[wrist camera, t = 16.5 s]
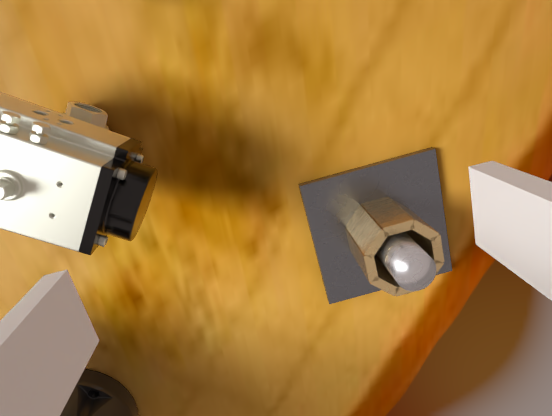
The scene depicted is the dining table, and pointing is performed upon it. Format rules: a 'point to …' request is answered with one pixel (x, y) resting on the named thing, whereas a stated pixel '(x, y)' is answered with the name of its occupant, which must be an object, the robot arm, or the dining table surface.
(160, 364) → the dining table surface
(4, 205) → the ball valve
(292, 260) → the dining table surface
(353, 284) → the pipe stub
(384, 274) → the ring
